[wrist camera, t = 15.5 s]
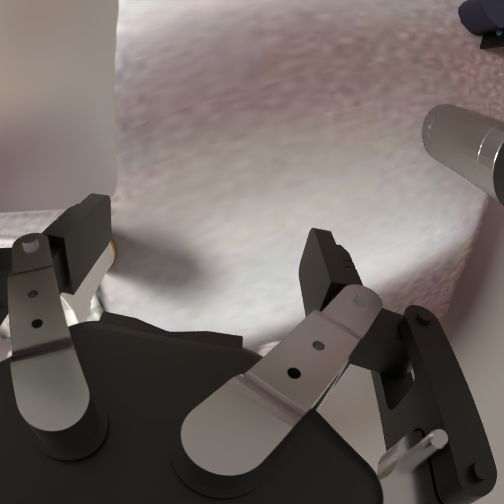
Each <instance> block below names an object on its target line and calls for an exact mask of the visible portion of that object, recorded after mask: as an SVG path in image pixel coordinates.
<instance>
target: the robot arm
mask: <svg viewBox="0 0 504 504" xmlns="http://www.w3.org/2000/svg"><path fill="white" fill-rule="evenodd" d="M422 137H423V142H424V145H425V148H426V150H427V151H428V153H429V154H430V155H431V156H432V157H433V158H434V159H436V160H437V161H439V162H440V163H442V164H444V165H445V166H447V167H448V168H450V169H451V170H453V171H455V172H456V173H458V174H459V175H461V176H462V177H464V178H465V179H467V180H468V181H470V182H471V183H473V184H474V185H475V186H477V187H478V188H480V189H481V190H483V191H484V192H485V193H487V194H488V195H490V196H491V197H493V198H494V199H496V200H497V201H498V202H499V203H501V204H502V205H503V206H504V122H502V121H499V120H497V119H494V118H491V117H488V116H485V115H482V114H479V113H476V112H472V111H469V110H466V109H463V108H459V107H456V106H452V105H448V104H447V105H440V106H437V107H435V108H434V109H433V110H432V111H431V112H430V113H429V114H428V115H427V117H426V119H425V122H424V125H423V130H422ZM110 239H111V201H110V197H109V196H108V195H101V194H90V195H89V196H88V197H87V198H85V199H84V200H83V201H82V202H81V203H80V204H76V205H74V206H72V207H70V208H68V209H67V210H66V211H65V212H64V213H63V214H62V216H61V215H60V216H59V217H58V218H57V219H56V220H55V221H54V222H53V223H52V224H51V225H50V226H49V227H47V228H46V229H45V230H44V231H43V232H42V233H30V234H26V235H23V236H21V237H20V238H18V239H17V240H16V241H15V242H14V243H13V245H12V248H0V326H1V324H2V322H3V321H4V319H5V318H6V316H7V315H8V313H9V326H10V337H11V346H12V356H11V357H9V358H7V359H5V360H3V361H1V362H0V504H471V503H473V502H474V501H476V500H478V499H480V498H482V497H483V496H485V495H487V494H488V493H489V492H490V491H491V490H492V489H493V488H494V486H495V483H496V479H497V470H496V465H495V462H494V459H493V455H492V452H491V449H490V446H489V442H488V439H487V436H486V433H485V431H484V427H483V425H482V421H481V419H480V416H479V413H478V410H477V408H476V405H475V403H474V400H473V397H472V395H471V392H470V390H469V387H468V385H467V382H466V380H465V377H464V375H463V373H462V370H461V368H460V366H459V363H458V361H457V359H456V357H455V354H454V352H453V350H452V348H451V346H450V343H449V341H448V339H447V337H446V335H445V333H444V331H443V329H442V327H441V325H440V323H439V321H438V319H437V318H436V316H435V315H434V314H433V313H432V312H430V311H429V310H427V309H425V308H423V307H421V306H417V305H411V306H408V307H407V308H406V309H405V311H404V313H403V315H400V314H397V313H395V312H392V311H389V310H386V309H384V308H382V306H383V304H382V300H381V298H380V297H379V296H378V295H377V294H376V293H375V292H374V291H373V290H371V289H369V288H367V287H365V286H363V284H362V282H361V279H360V277H359V275H358V272H357V270H356V269H355V265H354V263H353V262H352V259H351V256H350V254H349V253H348V252H347V251H346V250H345V249H344V248H343V247H342V246H341V245H336V243H335V240H334V238H333V235H332V233H331V231H327V230H322V229H316V228H312V229H311V230H310V232H309V235H308V238H307V242H306V245H305V248H304V252H303V255H302V258H301V262H300V266H299V280H300V286H301V292H302V297H303V303H304V309H305V315H306V318H305V319H304V320H303V321H302V322H301V323H300V324H299V325H298V326H297V327H296V328H294V329H293V330H292V331H291V332H290V333H289V334H288V335H287V336H286V337H285V338H284V339H283V340H282V341H281V342H280V343H278V344H277V345H276V346H275V347H274V348H273V349H272V350H271V351H270V352H269V353H268V354H266V355H265V356H264V357H263V356H261V355H259V354H258V353H256V352H254V351H251V350H249V349H247V348H244V347H242V343H243V336H237V335H230V334H223V333H216V332H210V331H191V332H169V331H165V330H163V329H160V328H158V327H155V326H153V325H151V324H148V323H146V322H143V321H141V320H139V319H136V318H133V317H128V316H123V315H118V314H114V313H109V312H105V311H104V312H103V314H102V316H101V318H100V320H99V321H87V322H81V323H77V324H74V325H71V326H68V325H67V321H66V318H65V314H64V310H63V306H62V302H61V298H60V295H61V293H62V292H63V293H67V294H71V295H74V294H75V293H76V291H77V290H78V288H79V287H80V285H81V284H82V282H83V281H84V279H85V278H86V276H87V275H88V273H89V272H90V270H91V269H92V267H93V266H94V265H95V263H96V262H97V260H98V259H99V257H100V256H101V255H102V253H103V252H104V250H105V249H106V248H107V246H108V245H109V242H110ZM350 364H353V365H357V366H360V367H363V368H366V369H369V370H371V374H372V378H373V383H374V387H375V392H376V397H377V402H378V407H379V412H380V417H381V423H382V428H383V434H384V439H385V445H386V451H387V452H386V453H384V454H383V456H382V457H381V458H380V460H379V463H378V474H376V473H375V471H374V470H373V469H372V467H371V466H370V465H369V464H368V463H367V462H366V461H365V460H364V459H363V458H362V457H361V456H360V455H359V454H358V453H357V452H356V451H355V450H354V449H353V448H352V447H351V446H350V445H349V444H348V443H347V442H346V441H345V440H344V439H343V438H342V437H341V436H340V435H339V434H338V433H337V432H336V431H335V430H334V429H333V428H332V427H331V425H330V424H329V423H328V422H327V421H326V420H325V419H324V418H323V417H322V416H321V415H320V414H319V413H318V412H317V411H318V409H319V408H320V406H321V405H322V404H323V402H324V401H325V399H326V398H327V396H328V395H329V394H330V392H331V391H332V389H333V388H334V387H335V386H336V384H337V383H338V381H339V380H340V378H341V377H342V376H343V374H344V373H345V371H346V370H347V368H348V367H349V365H350ZM412 368H413V370H414V374H415V381H413V378H412V374H411V370H412Z"/></svg>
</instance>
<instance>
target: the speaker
mask: <svg viewBox="0 0 504 504" xmlns="http://www.w3.org/2000/svg"><path fill="white" fill-rule="evenodd" d="M458 13H459V16H460V19H461V23H462V24H463V25H464V26H465V27H466V28H467V29H468V30H469V31H470V32H472V33H474V34H484V35H483V38H482V42H481V45H480V48H481V49H486V48H494V47H504V0H468V1H465V2H464V3H463V4H462V5H461V6H460V7H459V9H458Z"/></svg>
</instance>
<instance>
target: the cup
mask: <svg viewBox="0 0 504 504" xmlns="http://www.w3.org/2000/svg"><path fill="white" fill-rule="evenodd" d="M115 255H116V251H115V247H114V243H113V242H112V240H111V239H110V242H109V245H108V246H107V248H106V249H105V250H104V252H103V253H102V255H101V256H100V257H99V259H98V260H97V262H96V263H95V265H94V266H93V267H92V269H91V270H90V272H89V273H88V275H87V276H86V278H85V279H84V281H83V282H82V284H81V285H80V287H79V288H78V290H77V291H76V293H75V294H74V295H71V294H67V293H63V292H62V293H61V295H60V298H61V302H62V306H63V310H64V314H65V318H66V321H67V325H68V326H71V325H74V324H77V323H81V322H86V320H87V318H88V316H89V314H90V306H91V302H90V301H91V299H92V297H93V295H94V293H95V292H96V290H97V288H98V286H99V284H100V283H101V281H102V279H103V277H104V275H105V274H106V272H107V270H108V269H109V268H110V266H111V265H112V263H113V262H114V259H115Z"/></svg>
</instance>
